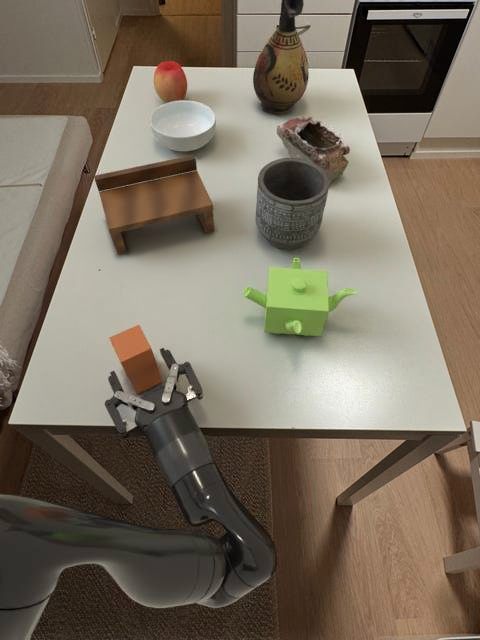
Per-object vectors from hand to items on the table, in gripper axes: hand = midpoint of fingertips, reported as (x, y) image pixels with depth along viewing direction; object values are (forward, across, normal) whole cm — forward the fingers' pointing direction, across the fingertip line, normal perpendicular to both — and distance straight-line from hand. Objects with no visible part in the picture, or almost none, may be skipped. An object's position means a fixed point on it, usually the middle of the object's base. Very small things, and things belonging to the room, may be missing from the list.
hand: (137, 361), depth 68 cm
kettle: (-2, -30, +7) cm, 31 cm away
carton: (+1, 0, +7) cm, 7 cm away
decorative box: (+36, -59, +7) cm, 70 cm away
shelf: (+34, -18, +7) cm, 39 cm away
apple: (+81, -42, +7) cm, 91 cm away
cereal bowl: (+60, -37, +7) cm, 71 cm away
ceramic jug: (+64, -69, +7) cm, 94 cm away
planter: (+18, -42, +7) cm, 46 cm away
